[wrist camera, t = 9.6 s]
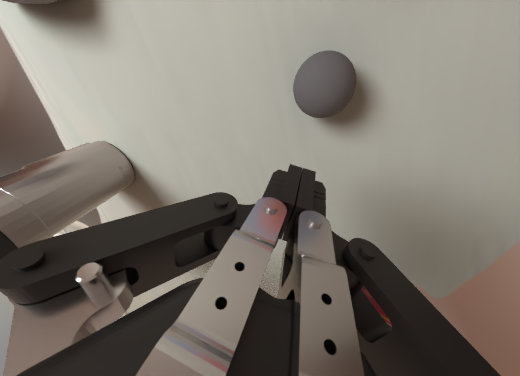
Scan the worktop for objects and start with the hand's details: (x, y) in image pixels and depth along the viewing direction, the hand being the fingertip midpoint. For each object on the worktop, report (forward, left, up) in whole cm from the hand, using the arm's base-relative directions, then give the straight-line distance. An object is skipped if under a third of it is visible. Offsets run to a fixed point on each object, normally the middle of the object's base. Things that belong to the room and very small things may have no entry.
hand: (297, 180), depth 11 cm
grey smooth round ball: (0, +4, -11) cm, 12 cm away
